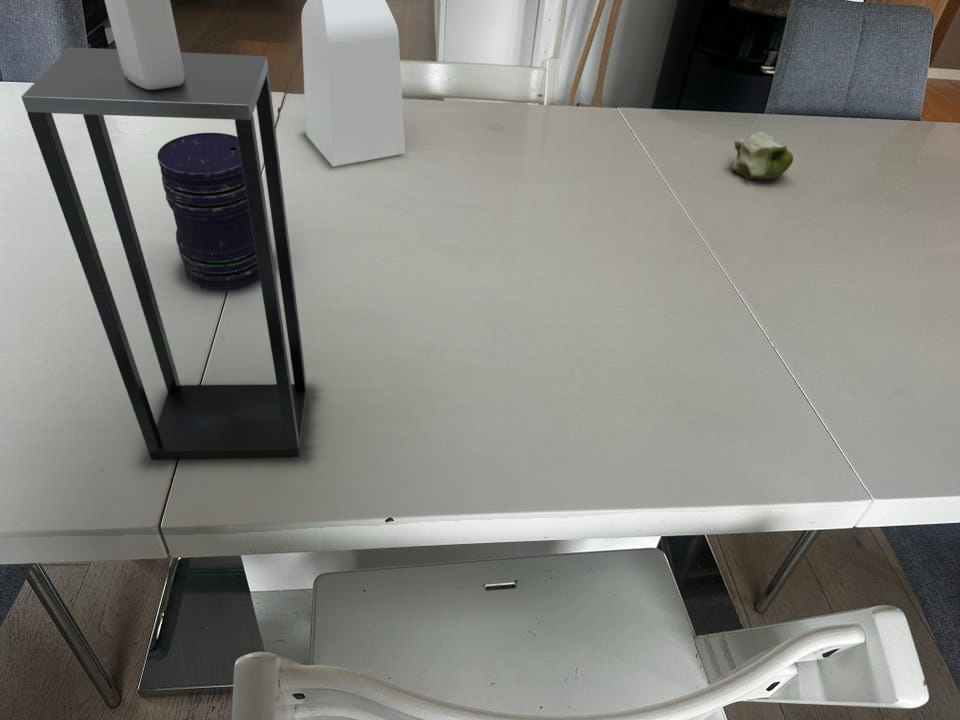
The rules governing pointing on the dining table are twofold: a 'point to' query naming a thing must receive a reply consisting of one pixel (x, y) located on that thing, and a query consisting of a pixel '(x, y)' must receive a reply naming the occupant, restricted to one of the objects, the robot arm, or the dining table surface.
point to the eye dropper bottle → (147, 42)
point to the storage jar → (210, 210)
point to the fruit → (761, 157)
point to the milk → (352, 80)
